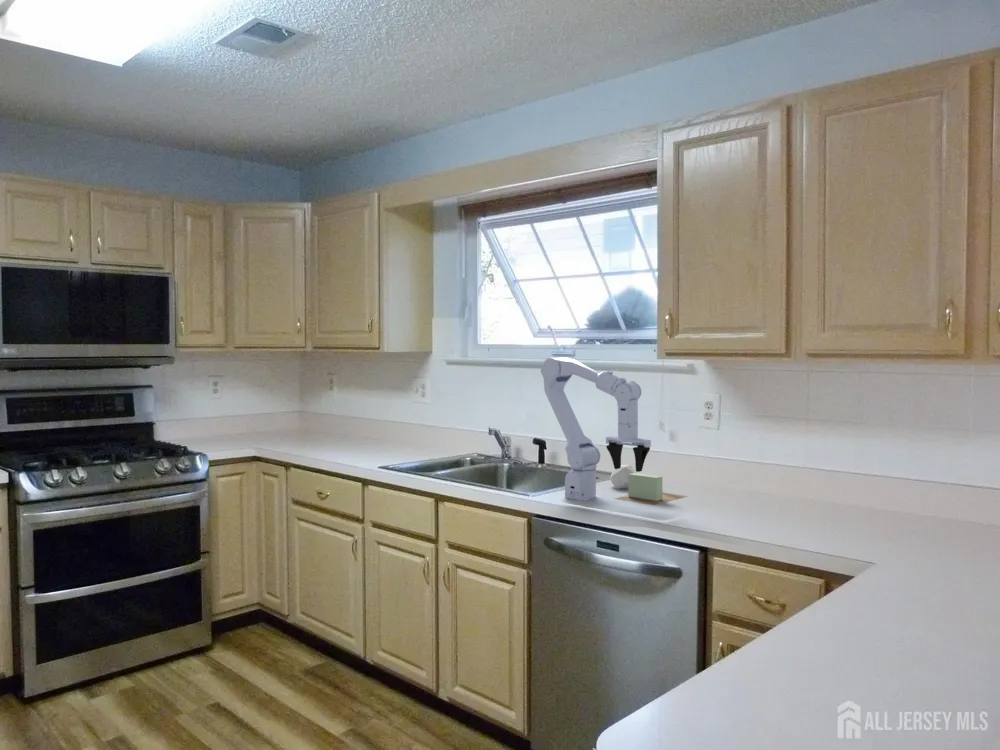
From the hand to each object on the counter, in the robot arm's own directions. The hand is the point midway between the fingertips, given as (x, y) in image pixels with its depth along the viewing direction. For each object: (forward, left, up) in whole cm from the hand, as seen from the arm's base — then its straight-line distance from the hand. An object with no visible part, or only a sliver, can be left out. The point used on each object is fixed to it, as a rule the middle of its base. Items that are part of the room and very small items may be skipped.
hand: (628, 470), depth 224 cm
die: (+18, +15, -10) cm, 26 cm away
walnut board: (+10, -1, -10) cm, 14 cm away
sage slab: (+7, -1, -9) cm, 12 cm away
